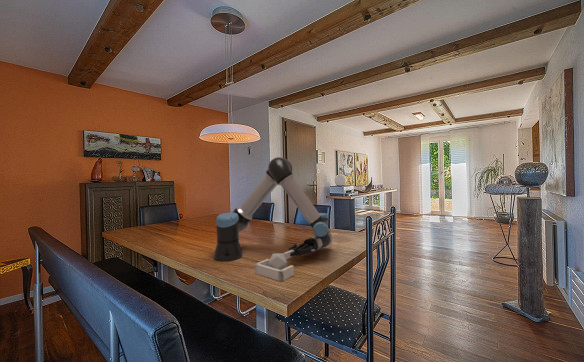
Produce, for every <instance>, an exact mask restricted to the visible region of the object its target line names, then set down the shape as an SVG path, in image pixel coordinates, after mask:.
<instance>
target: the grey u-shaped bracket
mask: <svg viewBox="0 0 584 362" xmlns="http://www.w3.org/2000/svg"><path fill="white" fill-rule="evenodd" d="M269 260H270V258H266V259H264V260H262V261H259V262H256V263H254V264H253V265H254V274H257V275H259V276H263V277H266V278H270V279H273V280H276V281H278V282H283V281H285V280H287V279H289V278H291V277H293V276H294V275H295V266H294V265H291V264H290V265H289V266H286V268H284V269H282V270H279V269H275V268H272V267H270V266H269V263H268V262H269Z"/></svg>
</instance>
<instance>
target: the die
mask: <svg viewBox="0 0 584 362" xmlns="http://www.w3.org/2000/svg"><path fill="white" fill-rule="evenodd" d="M284 253H285V252H283V253H276V252H275V253H272V254H271V257H270V258H269V259H270V260H269V262H268V263H269V266H270V267H272V268H275V269H279V270H282V269H284V268H286V267H287V264H288V261H287V259H286V258H285V256H284Z"/></svg>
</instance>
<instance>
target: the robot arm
mask: <svg viewBox="0 0 584 362" xmlns="http://www.w3.org/2000/svg"><path fill="white" fill-rule="evenodd" d="M277 186H281V187H282V189H284V191H285V192H286V194H287V195H288V197H289V198H290V200H291V201H292V202H293V204H294V205H295V207H296V208H297V209H298V211H299V212H300V214H301V215H302V216H303V217H304V219H305V220H306V222H307V223H308V224H309V226H310V227H311V229H312V231H313V234H314V236H311V237H309V238H305V240H304V241H303V243H294V245H292V246H290V247H289V248H288V251H285V252H283V253H284V256H285V258H286V260H288V259H290V258H292V257H294V256H295V257H297V256H299V257H302V256H304V255H305V256H306V255H309V254H314V253H315V252H317V251H318V250H321V249H323V248H326V247H327V246H329V245H330V244H331V243H332V241H333V240H332V237H331V236H332V235H331V234H330V233H329V216H328V214H327V213H325V212H319V211H318V210H317V208H316V207H315V205H314V204H313V203H312V202H311V200H310V199H309V197H308V196H307V195H306V194H305V191H304V190H303V189H302V188H301V187H300V185H299V184H298V182H297V180H296V179H295V178H294V174H293V165H292V163H291V162H290V161H289V160H288V159H286V158H284V157H277V156H276V157H274V158H272V159H271V160H269V164H268V168H267V170H266V171H265V176H264V177H263V179H262V180H261V181H260V183H259V184H258V185H257V186H256V187H255V189H253V191H252V192H251V193H250V194H249V196H248V197H247V198H246V199H245V200H244V202H243V203H242V204H241V205H239V206H236V207H235V209H234V210H233V211H232V212H223V213H220V214H219V215H218V216H216V222H215V224H216V247H215V248H214V252H213V258H214V259H213V260H215V261H221V262H229V261H234V260H237V259H240V258H242V257H243V250H242V247H241V243H240V238H239V237H240V235H239V233H240V232H242V231H243V230H245V229H246V228H247V227H248V225H249V223H250V222H251V221H252V219H253V214H255V212H256V211H257V209H259V207H260V206H262V203H264V201H265V200H266V199H267V198H268V196H269V195H270V194H271V193H272V192H273V191H274V189H276V187H277Z"/></svg>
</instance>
